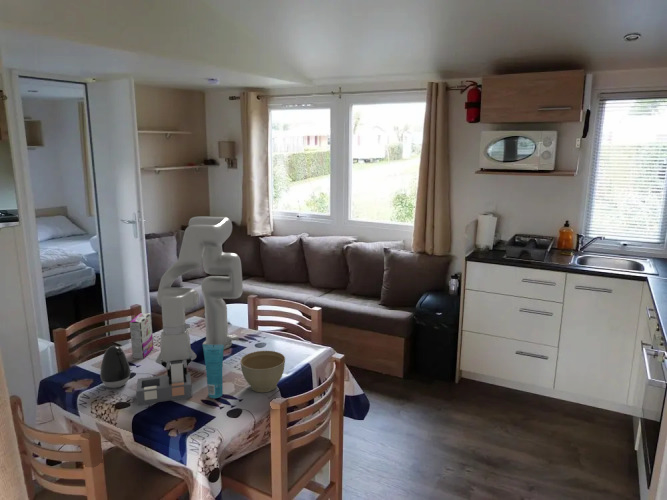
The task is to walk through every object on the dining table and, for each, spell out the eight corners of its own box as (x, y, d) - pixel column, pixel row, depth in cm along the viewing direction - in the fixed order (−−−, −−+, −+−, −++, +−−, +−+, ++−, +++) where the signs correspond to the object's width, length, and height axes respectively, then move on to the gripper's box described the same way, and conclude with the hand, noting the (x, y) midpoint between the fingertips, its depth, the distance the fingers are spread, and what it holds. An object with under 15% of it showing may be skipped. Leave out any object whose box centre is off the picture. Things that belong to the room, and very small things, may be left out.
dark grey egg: (111, 394, 176) (108, 354, 173) (95, 386, 182) (92, 347, 179) (137, 383, 184) (134, 345, 181) (121, 376, 190) (118, 338, 187)
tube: (226, 391, 178) (224, 341, 174) (225, 398, 173) (223, 347, 170) (205, 392, 177) (203, 342, 174) (203, 399, 173) (201, 347, 169)
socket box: (190, 384, 183) (189, 371, 182) (191, 397, 174) (191, 383, 173) (138, 391, 178) (137, 377, 177) (137, 405, 168) (136, 391, 167)
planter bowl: (249, 375, 191) (249, 349, 189) (290, 378, 189) (290, 352, 186) (234, 395, 176) (233, 366, 174) (278, 399, 173) (278, 370, 171)
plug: (183, 382, 179) (182, 356, 177) (184, 387, 176) (182, 360, 173) (172, 383, 178) (170, 357, 176) (172, 388, 174) (170, 362, 172)
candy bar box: (142, 348, 216) (139, 312, 213) (153, 348, 216) (151, 312, 212) (131, 359, 205) (128, 321, 202) (143, 359, 205) (140, 321, 202)
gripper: (198, 322, 179) (200, 369, 182) (149, 327, 173) (152, 376, 177) (199, 330, 172) (202, 378, 175) (148, 335, 166) (152, 385, 170)
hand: (177, 376), depth 176 cm, fingers closed on plug, 3 cm apart
